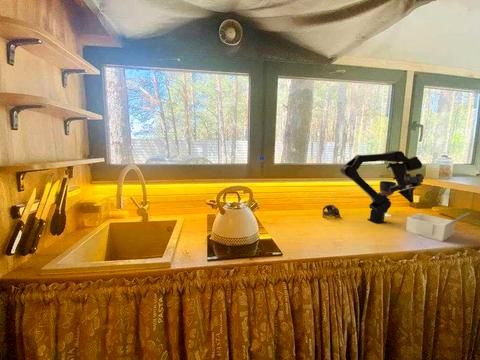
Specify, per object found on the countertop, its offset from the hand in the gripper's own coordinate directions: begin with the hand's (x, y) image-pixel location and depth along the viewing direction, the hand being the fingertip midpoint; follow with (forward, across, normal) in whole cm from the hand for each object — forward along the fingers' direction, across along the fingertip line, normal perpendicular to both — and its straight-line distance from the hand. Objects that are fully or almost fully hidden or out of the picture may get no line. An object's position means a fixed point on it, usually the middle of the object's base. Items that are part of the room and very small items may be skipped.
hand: (412, 202), depth 119 cm
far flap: (+11, 0, -15) cm, 19 cm away
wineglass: (+4, +9, +22) cm, 24 cm away
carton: (+16, -2, -3) cm, 16 cm away
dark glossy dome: (-2, -25, +32) cm, 40 cm away
